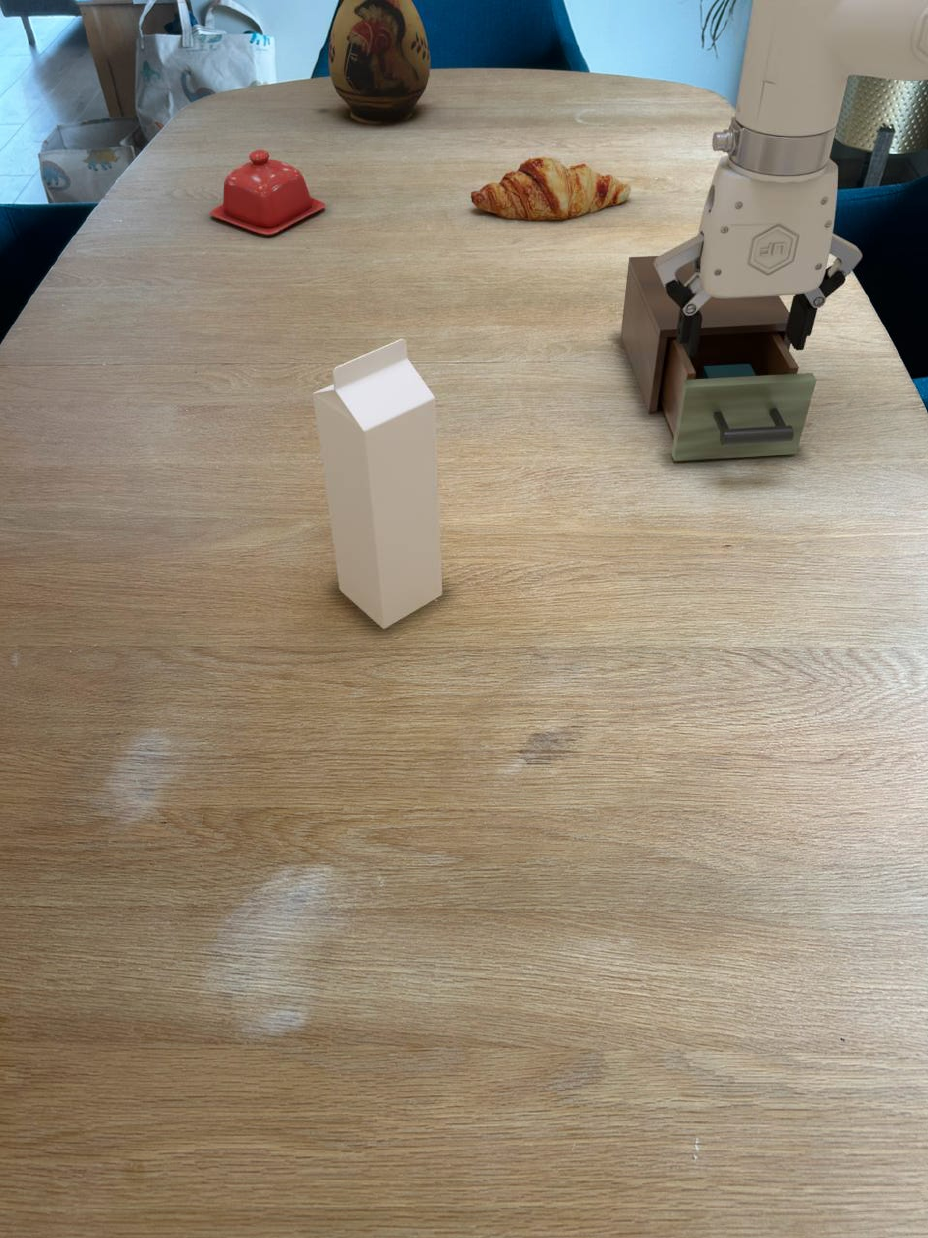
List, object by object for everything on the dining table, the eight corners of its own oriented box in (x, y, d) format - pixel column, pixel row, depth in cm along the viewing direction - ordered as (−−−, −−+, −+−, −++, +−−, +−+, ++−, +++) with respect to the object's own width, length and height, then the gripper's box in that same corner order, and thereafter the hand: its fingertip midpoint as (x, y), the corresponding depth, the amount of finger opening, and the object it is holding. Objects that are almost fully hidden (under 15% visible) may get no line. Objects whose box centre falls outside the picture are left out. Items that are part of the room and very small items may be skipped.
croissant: (619, 220, 137) (617, 156, 135) (643, 213, 127) (642, 144, 125) (467, 230, 134) (462, 166, 132) (480, 224, 125) (475, 154, 122)
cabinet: (774, 411, 98) (796, 322, 91) (647, 419, 98) (660, 329, 91) (734, 336, 108) (751, 250, 102) (619, 342, 108) (629, 256, 101)
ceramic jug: (445, 104, 160) (440, -126, 139) (413, 139, 150) (401, -104, 129) (347, 94, 164) (327, -131, 143) (309, 127, 154) (281, -110, 132)
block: (741, 404, 96) (750, 363, 93) (754, 430, 93) (763, 389, 89) (696, 406, 95) (703, 365, 92) (707, 433, 92) (715, 392, 89)
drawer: (811, 482, 89) (833, 407, 83) (684, 489, 88) (698, 414, 83) (754, 375, 101) (770, 303, 96) (643, 381, 101) (653, 309, 95)
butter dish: (269, 245, 125) (258, 176, 119) (206, 222, 130) (193, 155, 124) (331, 213, 132) (324, 146, 126) (269, 192, 137) (259, 127, 131)
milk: (339, 594, 81) (303, 350, 65) (398, 561, 84) (377, 319, 68) (385, 635, 77) (358, 388, 62) (445, 599, 80) (434, 353, 65)
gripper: (679, 169, 73) (653, 374, 86) (910, 157, 74) (851, 362, 86) (658, 132, 79) (636, 330, 91) (873, 121, 79) (822, 319, 92)
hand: (741, 345), depth 89 cm, fingers open, 9 cm apart
